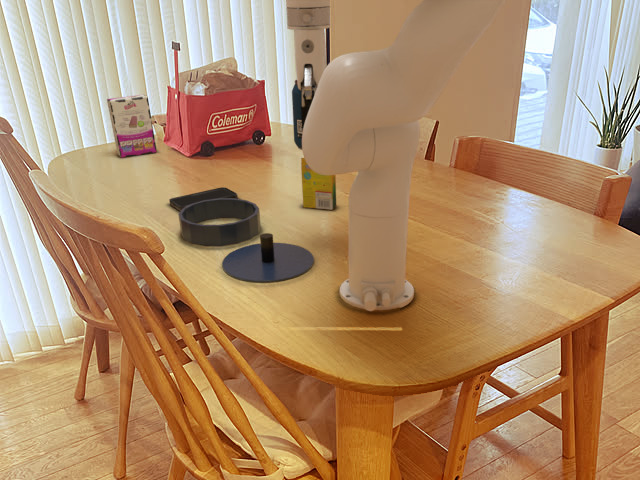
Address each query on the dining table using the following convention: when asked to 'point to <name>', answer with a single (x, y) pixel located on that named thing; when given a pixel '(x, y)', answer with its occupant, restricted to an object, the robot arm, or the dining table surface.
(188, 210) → the pot
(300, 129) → the soda can
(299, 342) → the dining table surface
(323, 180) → the crayon box
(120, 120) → the candy bar box
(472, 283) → the dining table surface
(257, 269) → the lid
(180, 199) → the phone
